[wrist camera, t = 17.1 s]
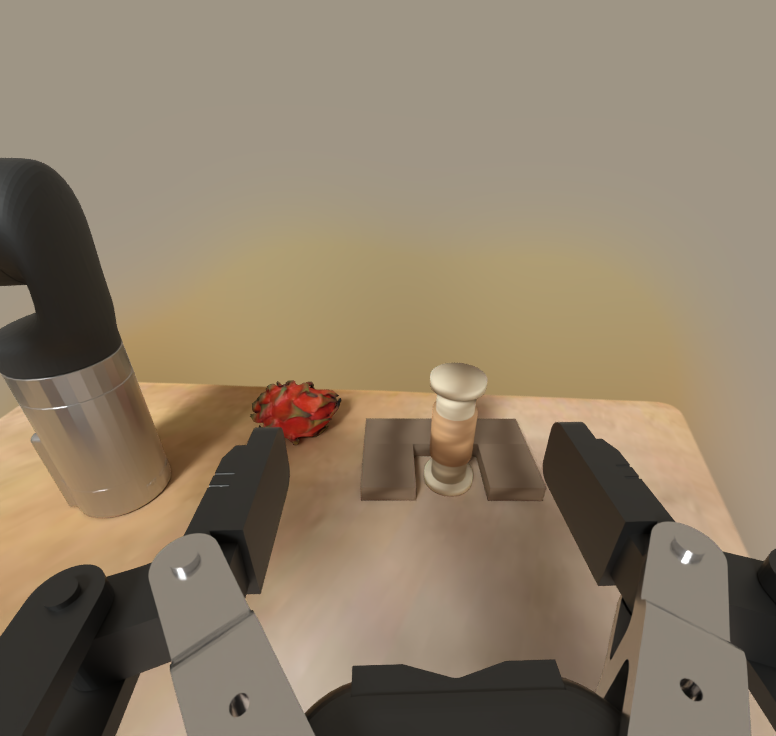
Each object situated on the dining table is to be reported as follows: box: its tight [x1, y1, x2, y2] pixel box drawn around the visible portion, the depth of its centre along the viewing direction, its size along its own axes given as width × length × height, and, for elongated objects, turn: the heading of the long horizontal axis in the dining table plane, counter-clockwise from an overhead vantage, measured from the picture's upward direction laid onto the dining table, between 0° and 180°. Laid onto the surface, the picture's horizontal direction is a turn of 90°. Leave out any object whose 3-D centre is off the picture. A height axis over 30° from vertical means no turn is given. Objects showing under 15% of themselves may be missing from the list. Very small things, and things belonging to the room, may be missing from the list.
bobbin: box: [424, 363, 487, 496], centre depth 43 cm, size 6×6×14 cm
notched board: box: [361, 419, 546, 501], centre depth 48 cm, size 20×12×2 cm, turn 90°
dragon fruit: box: [250, 381, 341, 445], centre depth 52 cm, size 8×8×12 cm
